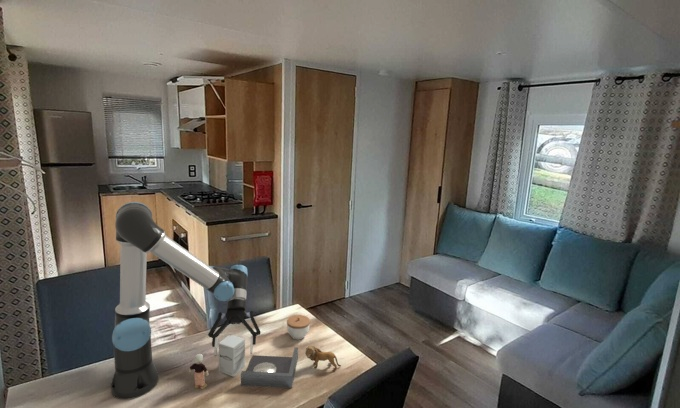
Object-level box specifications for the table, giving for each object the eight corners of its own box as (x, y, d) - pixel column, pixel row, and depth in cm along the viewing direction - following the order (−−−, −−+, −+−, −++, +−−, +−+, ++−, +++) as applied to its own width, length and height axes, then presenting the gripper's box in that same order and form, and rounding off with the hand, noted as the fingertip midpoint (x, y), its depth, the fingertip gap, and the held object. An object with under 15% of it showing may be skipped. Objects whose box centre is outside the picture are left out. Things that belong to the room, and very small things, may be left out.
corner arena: (240, 385, 133) (240, 373, 132) (252, 356, 151) (252, 345, 150) (291, 388, 133) (292, 376, 132) (297, 358, 151) (298, 347, 150)
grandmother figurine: (211, 382, 134) (210, 352, 132) (208, 389, 130) (207, 358, 128) (191, 381, 134) (189, 351, 132) (186, 388, 130) (185, 357, 128)
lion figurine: (304, 370, 143) (305, 350, 142) (305, 362, 149) (305, 342, 147) (341, 371, 144) (342, 351, 142) (340, 362, 149) (341, 343, 148)
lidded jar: (308, 342, 162) (309, 323, 161) (284, 341, 162) (285, 322, 161) (310, 330, 173) (311, 312, 171) (288, 329, 173) (288, 311, 171)
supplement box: (218, 372, 140) (217, 342, 138) (230, 361, 147) (230, 333, 144) (233, 377, 137) (233, 348, 135) (245, 366, 144) (245, 338, 142)
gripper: (267, 302, 157) (266, 354, 146) (207, 305, 153) (201, 358, 141) (266, 297, 151) (265, 350, 140) (204, 299, 147) (198, 354, 135)
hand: (233, 354), depth 141 cm, fingers open, 13 cm apart
